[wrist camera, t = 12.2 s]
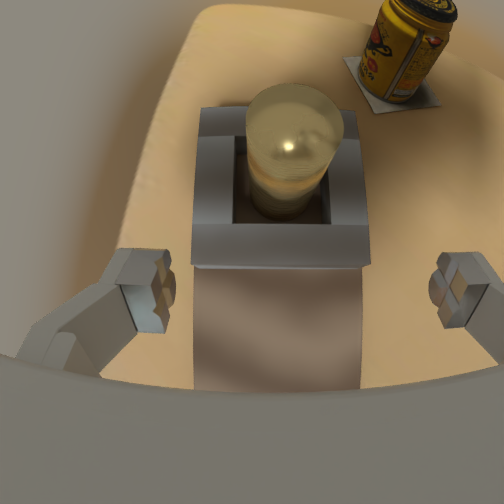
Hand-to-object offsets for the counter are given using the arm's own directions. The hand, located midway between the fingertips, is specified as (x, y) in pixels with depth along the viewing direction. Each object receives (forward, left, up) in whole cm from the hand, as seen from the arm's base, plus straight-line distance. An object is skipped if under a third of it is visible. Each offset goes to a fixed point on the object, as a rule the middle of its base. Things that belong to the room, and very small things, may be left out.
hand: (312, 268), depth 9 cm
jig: (-1, -1, -14) cm, 14 cm away
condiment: (-23, -5, -14) cm, 27 cm away
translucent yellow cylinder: (-5, -5, -13) cm, 15 cm away
